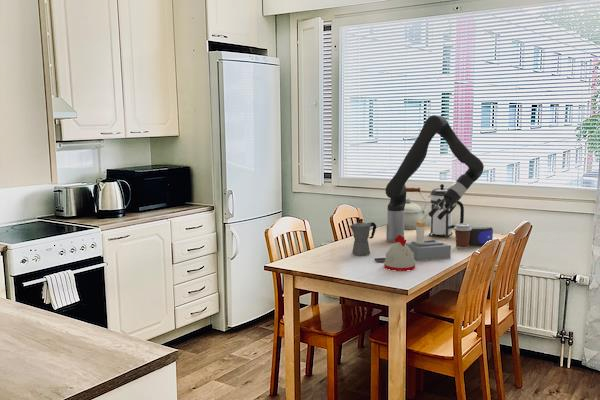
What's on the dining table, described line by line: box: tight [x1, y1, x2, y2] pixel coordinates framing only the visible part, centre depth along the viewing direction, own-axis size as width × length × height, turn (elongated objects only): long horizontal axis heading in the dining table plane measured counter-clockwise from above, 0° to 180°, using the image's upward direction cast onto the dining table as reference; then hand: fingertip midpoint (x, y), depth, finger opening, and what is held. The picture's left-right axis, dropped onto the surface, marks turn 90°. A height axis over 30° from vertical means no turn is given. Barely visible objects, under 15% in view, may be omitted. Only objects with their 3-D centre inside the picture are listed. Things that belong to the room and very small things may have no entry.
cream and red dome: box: [383, 235, 416, 272], centre depth 262 cm, size 14×14×15 cm
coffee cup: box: [453, 223, 473, 250], centre depth 301 cm, size 9×9×12 cm
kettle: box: [404, 187, 431, 230], centre depth 356 cm, size 25×18×25 cm
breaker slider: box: [413, 221, 427, 245], centre depth 281 cm, size 4×6×11 cm
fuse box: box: [405, 239, 452, 262], centre depth 283 cm, size 18×14×7 cm
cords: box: [374, 257, 386, 263], centre depth 275 cm, size 17×4×1 cm, turn 99°
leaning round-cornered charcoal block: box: [469, 226, 494, 247], centre depth 305 cm, size 16×5×9 cm, turn 96°
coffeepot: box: [349, 218, 377, 257], centre depth 288 cm, size 15×9×18 cm, turn 115°
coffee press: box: [428, 184, 465, 239], centre depth 329 cm, size 17×16×30 cm
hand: (434, 217), depth 282 cm, fingers open, 8 cm apart
